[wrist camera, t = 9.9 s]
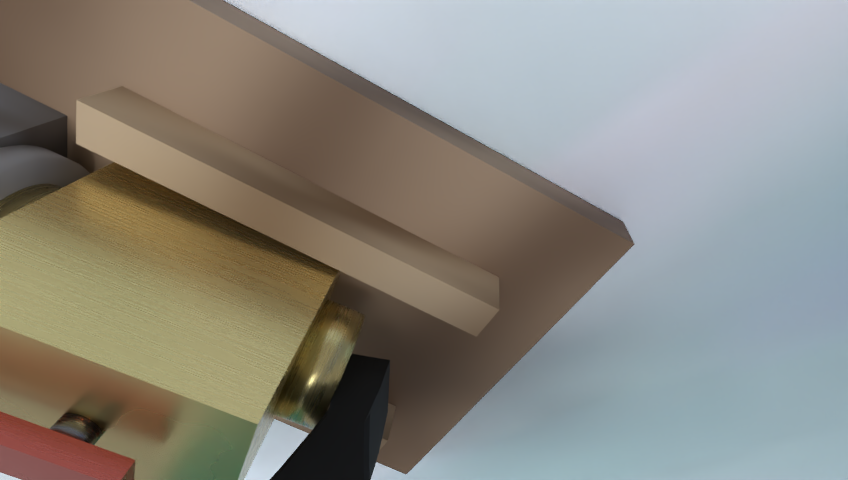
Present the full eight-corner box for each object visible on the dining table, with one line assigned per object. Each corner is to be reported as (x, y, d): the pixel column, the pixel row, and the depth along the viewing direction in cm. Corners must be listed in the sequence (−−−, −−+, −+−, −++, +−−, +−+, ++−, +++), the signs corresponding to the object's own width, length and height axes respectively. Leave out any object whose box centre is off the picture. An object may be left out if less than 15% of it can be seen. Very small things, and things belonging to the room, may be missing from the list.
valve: (388, 261, 11) (299, 502, 6) (342, 356, 13) (249, 590, 8) (94, 132, 10) (-292, 287, 5) (97, 256, 12) (-171, 448, 7)
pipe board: (623, 221, 10) (712, 398, 6) (410, 449, 17) (381, 613, 12) (-60, -156, 8) (-670, -297, 4) (-4, 270, 15) (-212, 393, 10)
